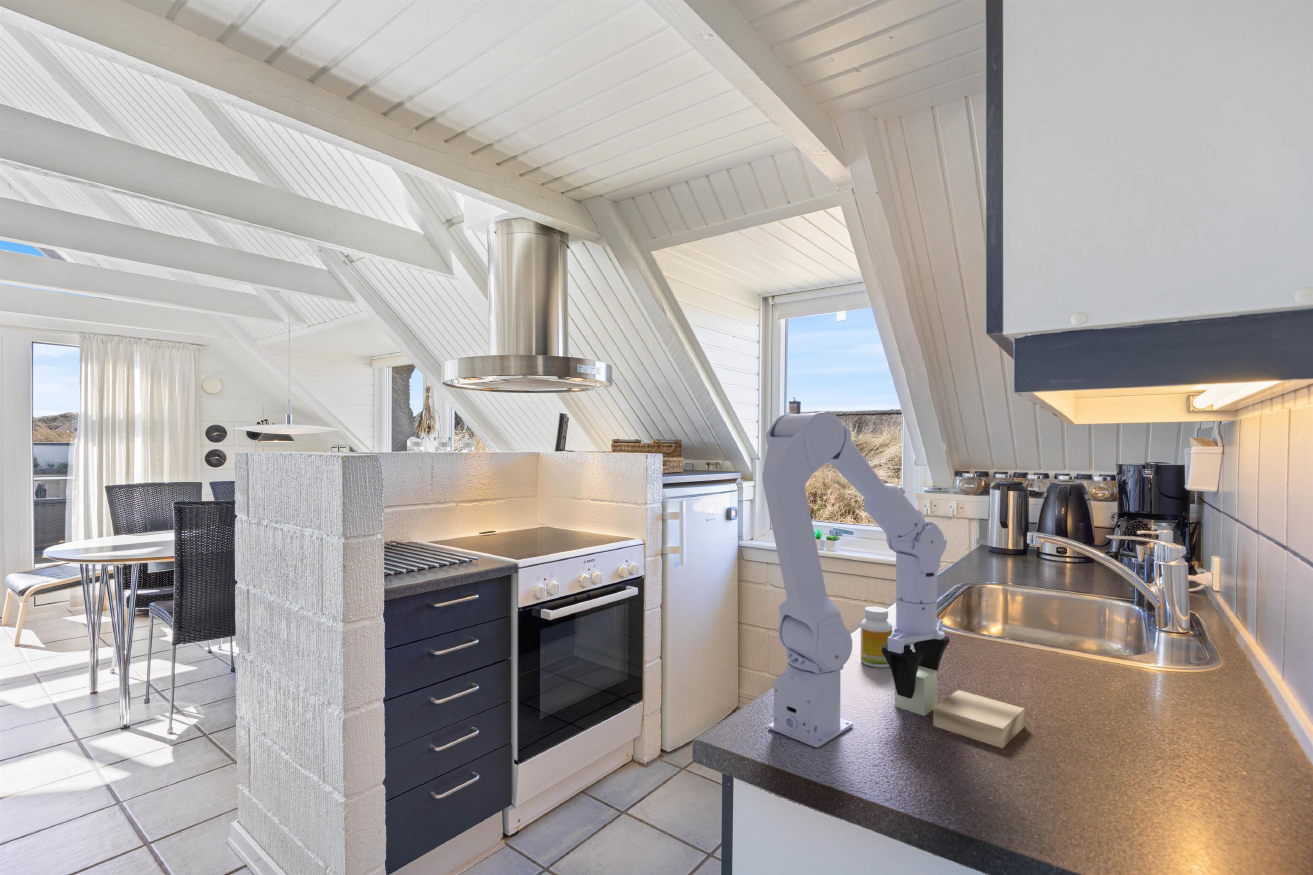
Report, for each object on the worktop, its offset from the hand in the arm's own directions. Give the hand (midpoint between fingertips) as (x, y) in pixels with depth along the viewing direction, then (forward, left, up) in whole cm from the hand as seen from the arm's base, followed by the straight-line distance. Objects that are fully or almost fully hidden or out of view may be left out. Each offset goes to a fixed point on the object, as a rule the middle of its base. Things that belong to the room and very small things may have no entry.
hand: (916, 688), depth 96 cm
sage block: (0, 0, -3) cm, 3 cm away
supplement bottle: (+13, +13, -3) cm, 19 cm away
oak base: (0, -9, -3) cm, 10 cm away
